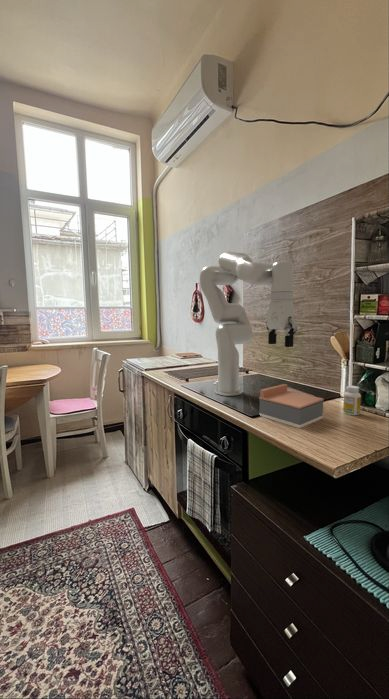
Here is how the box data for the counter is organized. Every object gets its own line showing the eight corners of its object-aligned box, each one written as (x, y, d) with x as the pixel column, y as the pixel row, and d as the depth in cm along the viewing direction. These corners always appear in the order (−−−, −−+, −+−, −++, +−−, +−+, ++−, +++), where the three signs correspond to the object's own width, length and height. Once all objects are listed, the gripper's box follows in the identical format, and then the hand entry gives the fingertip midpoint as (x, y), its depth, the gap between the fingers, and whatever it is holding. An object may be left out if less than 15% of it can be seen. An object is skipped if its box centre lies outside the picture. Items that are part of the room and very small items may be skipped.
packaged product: (273, 387, 132) (291, 385, 136) (273, 399, 133) (291, 396, 137) (304, 398, 116) (324, 395, 120) (304, 410, 117) (323, 407, 121)
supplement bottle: (355, 410, 114) (356, 385, 113) (362, 415, 109) (364, 388, 108) (340, 410, 114) (341, 385, 113) (347, 415, 109) (348, 388, 108)
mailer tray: (259, 415, 110) (259, 399, 109) (282, 407, 119) (283, 392, 118) (299, 428, 98) (300, 409, 97) (322, 418, 107) (323, 401, 106)
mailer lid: (259, 398, 109) (259, 389, 109) (283, 391, 118) (283, 383, 118) (299, 408, 97) (299, 399, 97) (323, 400, 106) (323, 391, 106)
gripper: (259, 298, 117) (258, 343, 119) (288, 296, 101) (286, 348, 103) (276, 298, 119) (274, 342, 122) (307, 296, 103) (305, 347, 106)
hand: (280, 345), depth 112 cm, fingers open, 9 cm apart
